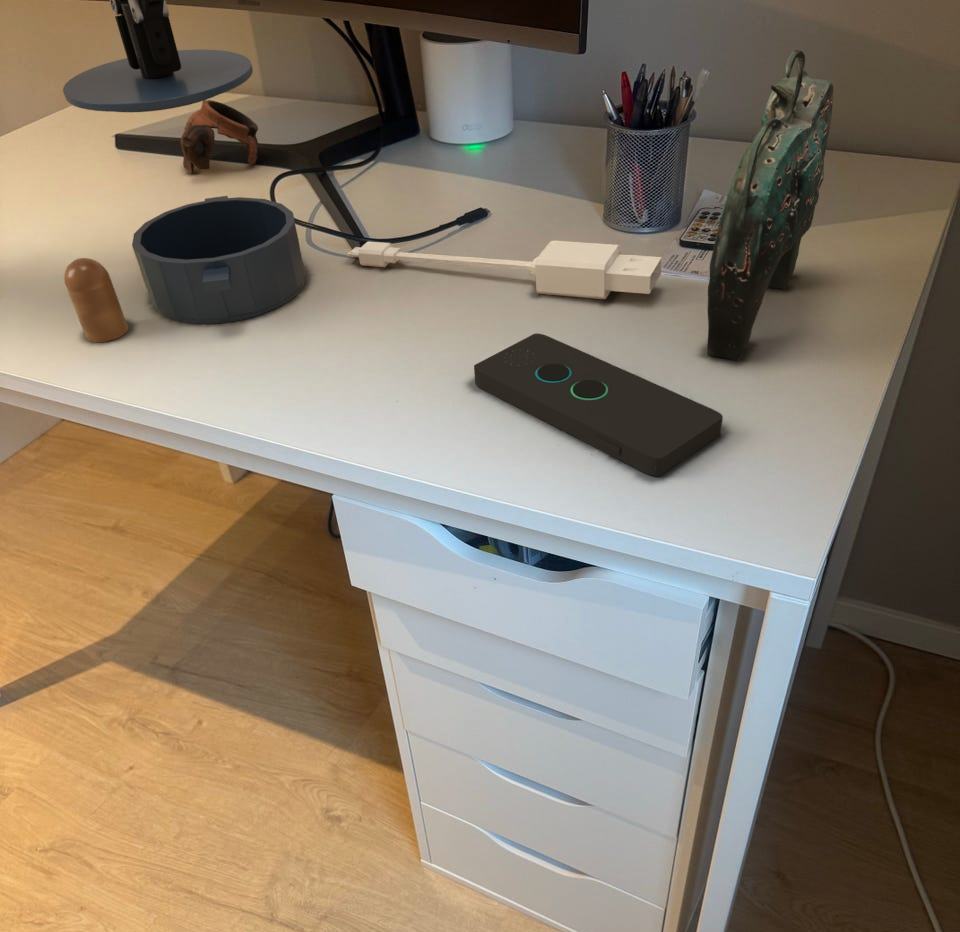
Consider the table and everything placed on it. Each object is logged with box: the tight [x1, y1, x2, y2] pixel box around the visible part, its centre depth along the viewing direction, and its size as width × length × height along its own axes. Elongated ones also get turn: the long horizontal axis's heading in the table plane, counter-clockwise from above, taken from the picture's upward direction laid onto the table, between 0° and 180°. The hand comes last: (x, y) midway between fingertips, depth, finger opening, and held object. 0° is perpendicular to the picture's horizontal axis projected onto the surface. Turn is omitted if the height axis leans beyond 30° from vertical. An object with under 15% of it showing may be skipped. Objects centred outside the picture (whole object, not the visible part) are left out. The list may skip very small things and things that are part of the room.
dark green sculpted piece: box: [706, 49, 834, 361], centre depth 75 cm, size 20×6×20 cm, turn 152°
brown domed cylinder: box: [63, 257, 129, 343], centre depth 84 cm, size 4×4×7 cm
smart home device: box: [473, 332, 724, 477], centre depth 72 cm, size 8×2×20 cm
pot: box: [131, 195, 306, 325], centre depth 90 cm, size 16×21×6 cm
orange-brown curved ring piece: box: [180, 99, 259, 175], centre depth 116 cm, size 12×10×8 cm
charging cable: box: [347, 240, 663, 300], centre depth 89 cm, size 5×32×3 cm, turn 68°
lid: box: [62, 0, 254, 113], centre depth 79 cm, size 17×17×7 cm
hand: (155, 67), depth 80 cm, fingers closed on lid, 2 cm apart
